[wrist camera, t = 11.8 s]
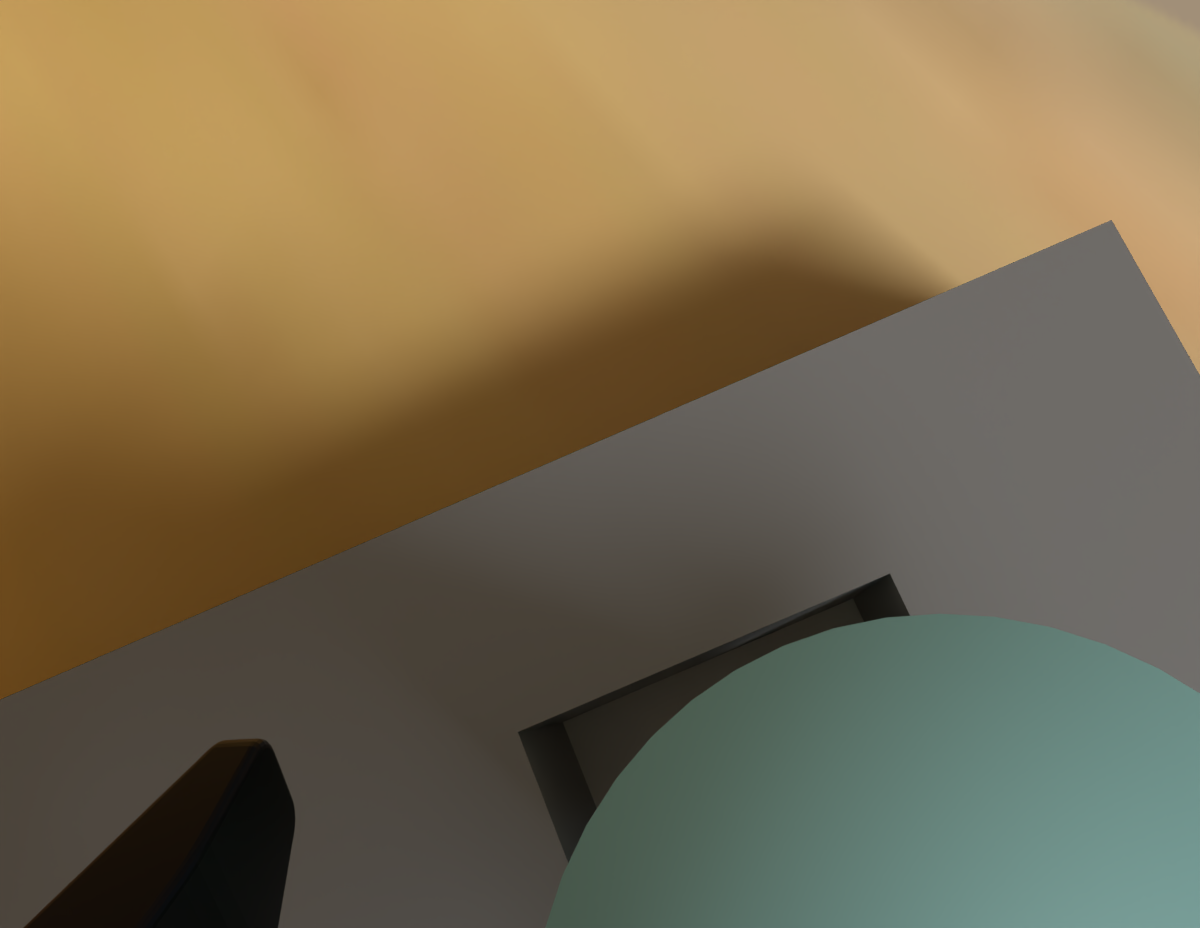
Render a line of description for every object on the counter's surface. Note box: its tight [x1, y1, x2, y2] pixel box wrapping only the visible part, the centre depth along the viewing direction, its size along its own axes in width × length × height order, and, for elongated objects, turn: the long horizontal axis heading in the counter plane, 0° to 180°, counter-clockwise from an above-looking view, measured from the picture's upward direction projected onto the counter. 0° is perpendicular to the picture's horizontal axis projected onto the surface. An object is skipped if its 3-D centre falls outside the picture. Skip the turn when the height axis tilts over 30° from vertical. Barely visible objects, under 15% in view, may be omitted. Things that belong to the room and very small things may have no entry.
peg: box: [545, 614, 1200, 928], centre depth 11 cm, size 4×4×13 cm
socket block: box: [0, 220, 1200, 928], centre depth 16 cm, size 10×20×4 cm, turn 113°
